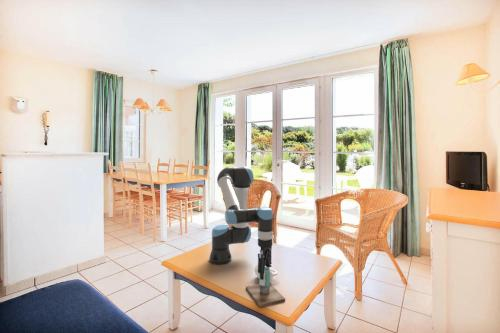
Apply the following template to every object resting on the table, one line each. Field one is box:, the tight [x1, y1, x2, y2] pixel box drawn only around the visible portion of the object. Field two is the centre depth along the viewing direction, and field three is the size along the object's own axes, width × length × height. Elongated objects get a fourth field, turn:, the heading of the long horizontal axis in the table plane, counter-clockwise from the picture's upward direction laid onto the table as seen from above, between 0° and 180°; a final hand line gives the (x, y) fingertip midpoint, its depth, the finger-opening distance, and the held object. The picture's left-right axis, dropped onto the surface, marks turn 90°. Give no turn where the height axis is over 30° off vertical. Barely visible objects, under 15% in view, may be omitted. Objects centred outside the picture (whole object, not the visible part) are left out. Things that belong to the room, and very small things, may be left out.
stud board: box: [245, 282, 286, 308], centre depth 131 cm, size 18×14×10 cm
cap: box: [258, 269, 271, 287], centre depth 131 cm, size 5×5×7 cm
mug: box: [254, 264, 278, 283], centre depth 147 cm, size 12×10×8 cm
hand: (264, 281), depth 131 cm, fingers closed on cap, 6 cm apart
